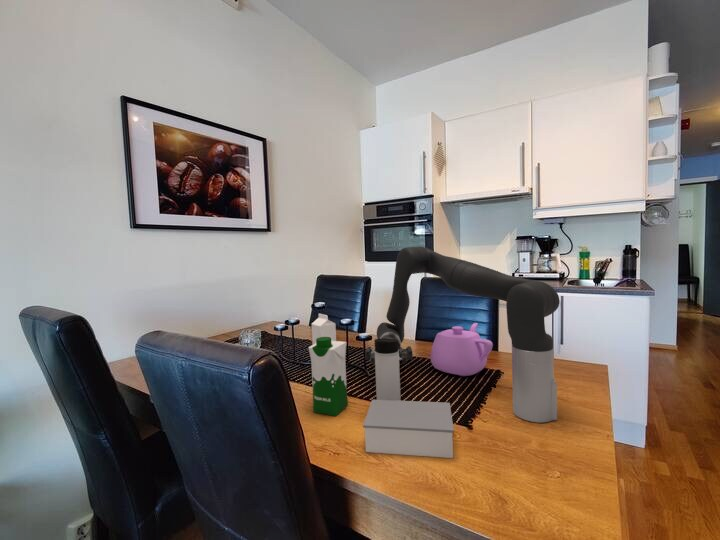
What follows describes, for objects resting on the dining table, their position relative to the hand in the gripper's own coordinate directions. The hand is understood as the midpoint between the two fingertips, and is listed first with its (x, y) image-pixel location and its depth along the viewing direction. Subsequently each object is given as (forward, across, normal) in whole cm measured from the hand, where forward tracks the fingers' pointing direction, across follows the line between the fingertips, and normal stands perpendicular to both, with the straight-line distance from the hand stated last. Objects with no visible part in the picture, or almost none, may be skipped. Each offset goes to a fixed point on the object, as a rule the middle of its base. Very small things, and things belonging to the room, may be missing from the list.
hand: (388, 360), depth 99 cm
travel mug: (+9, 0, +11) cm, 14 cm away
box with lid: (+22, +5, +11) cm, 25 cm away
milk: (-16, -22, +11) cm, 29 cm away
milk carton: (+7, -16, +11) cm, 21 cm away
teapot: (-24, +24, +11) cm, 36 cm away
